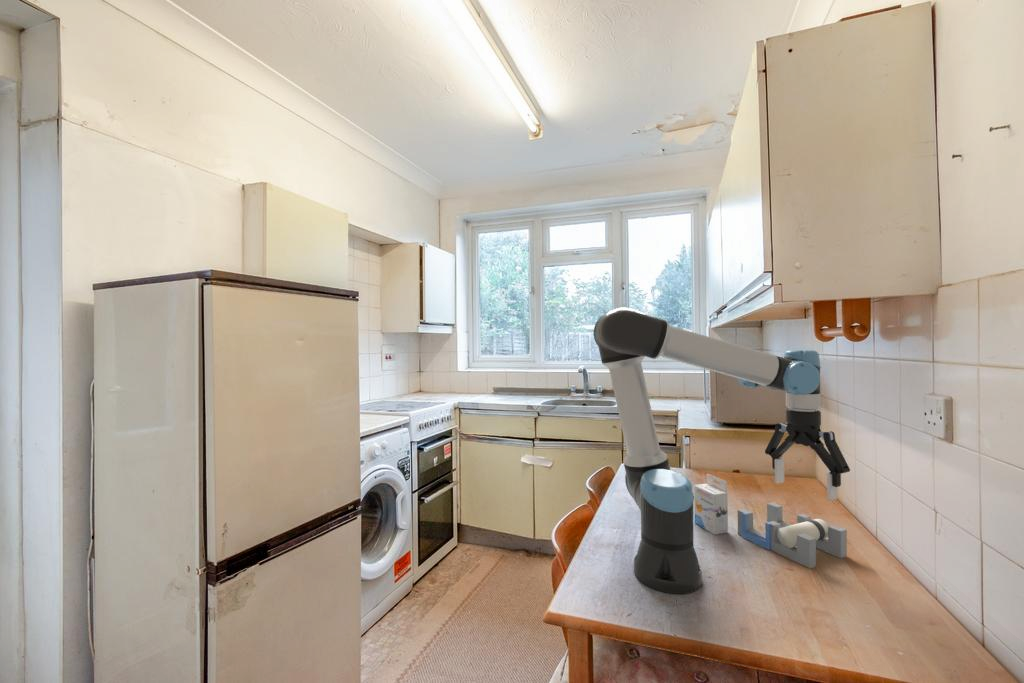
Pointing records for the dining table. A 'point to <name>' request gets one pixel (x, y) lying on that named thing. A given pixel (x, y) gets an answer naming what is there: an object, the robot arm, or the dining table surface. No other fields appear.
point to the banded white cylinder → (811, 528)
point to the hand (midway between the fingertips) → (804, 490)
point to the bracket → (805, 543)
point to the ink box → (712, 505)
